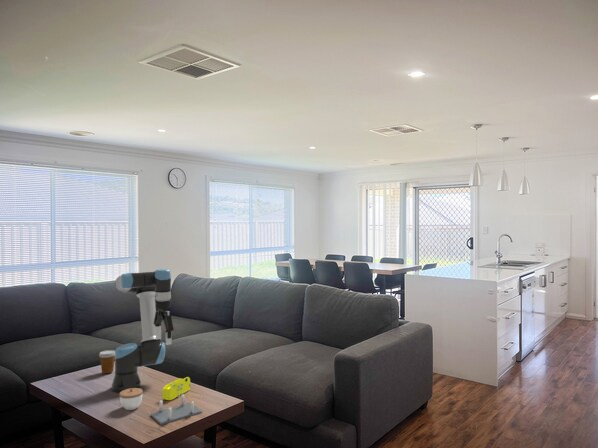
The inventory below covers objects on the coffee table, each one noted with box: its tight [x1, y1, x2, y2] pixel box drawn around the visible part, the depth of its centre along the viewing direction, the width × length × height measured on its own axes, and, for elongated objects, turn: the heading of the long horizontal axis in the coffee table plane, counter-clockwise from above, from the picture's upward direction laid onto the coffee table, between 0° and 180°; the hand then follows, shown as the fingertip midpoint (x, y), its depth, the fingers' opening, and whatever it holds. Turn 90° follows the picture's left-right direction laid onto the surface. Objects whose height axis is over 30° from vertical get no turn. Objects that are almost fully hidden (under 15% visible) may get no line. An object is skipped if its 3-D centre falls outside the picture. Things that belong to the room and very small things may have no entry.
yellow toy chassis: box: [162, 376, 191, 401], centre depth 237 cm, size 16×6×8 cm, turn 156°
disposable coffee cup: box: [98, 349, 115, 374], centre depth 275 cm, size 10×10×12 cm
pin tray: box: [150, 394, 203, 426], centre depth 213 cm, size 13×20×6 cm, turn 128°
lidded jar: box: [119, 387, 144, 411], centre depth 222 cm, size 11×11×9 cm
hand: (163, 341), depth 228 cm, fingers open, 13 cm apart
